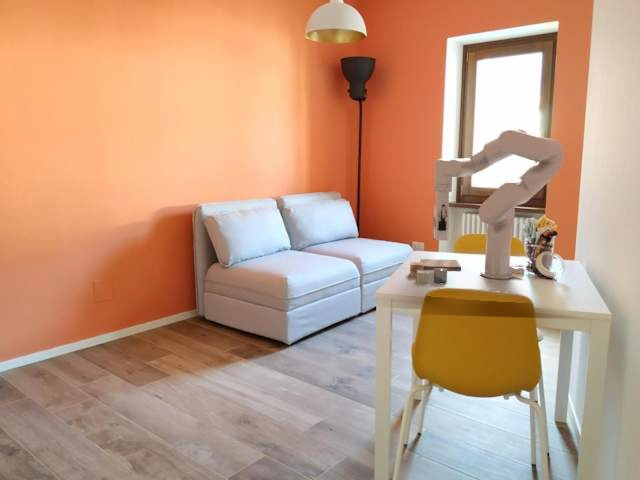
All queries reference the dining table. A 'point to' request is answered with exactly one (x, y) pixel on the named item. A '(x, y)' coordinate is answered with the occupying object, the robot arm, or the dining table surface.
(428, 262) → the walnut board
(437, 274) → the grey tin
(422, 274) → the sage cube
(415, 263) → the oak block
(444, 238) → the syrup box
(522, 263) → the dining table surface
